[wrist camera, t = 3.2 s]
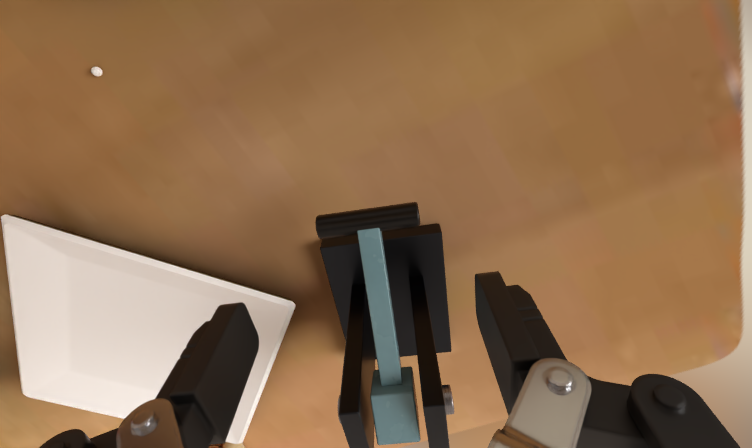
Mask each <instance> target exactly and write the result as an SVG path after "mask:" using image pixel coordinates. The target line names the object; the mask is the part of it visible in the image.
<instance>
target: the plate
mask: <svg viewBox="0 0 752 448" xmlns="http://www.w3.org/2000/svg"><path fill="white" fill-rule="evenodd" d="M1 222H2V230H3V239H4V247H5V256H6V264H7V273H8V281H9V289H10V298H11V306H12V315H13V323H14V332H15V340H16V348H17V357H18V365H19V374H20V382H21V391H22V393H23V394H24V395H25V396H27V397H30V398H34V399H39V400H43V401H48V402H52V403H57V404H61V405H65V406H70V407H74V408H79V409H83V410H87V411H92V412H96V413H101V414H105V415H110V416H114V417H118V418H123V419H125V418H126V417H127V416H128V415H129V414H130V413H131V412H132V411H133V410H134V409H136V408H137V407H138V406H140V405H142V404H143V403H145V402H148V401H150V400H153V399H155V398H156V396H157V394H158V393H159V391H160V389H161V388H162V386H163V384H164V383H165V381H166V379H167V378H168V376H169V374H170V372H171V371H172V369H173V367H174V366H175V364H176V362H177V361H178V359H180V355H181V354H182V352H183V350H184V349H185V348H186V345H187V344H188V342H189V340H190V338H191V337H192V335H193V333H194V332H195V331H196V330H197V329H198V328H200V327H201V326H202V325H203V324H204V323H205V322H206V321H210V320H211V318H212V317H213V315H214V313H215V311H216V309H217V308H218V306H220V305H223V304H231V303H239V302H242V303H244V304H245V305H246V307H247V310H248V312H249V314H250V317H251V319H252V321H253V324H254V326H255V328H256V330H257V333H258V336H259V349H258V353H257V356H256V358H255V361H254V364H253V367H252V369H251V372H250V375H249V378H248V381H247V383H246V386H245V389H244V392H243V394H242V397H241V400H240V403H239V405H238V408H237V411H236V414H235V416H234V419H233V422H232V425H231V428H230V430H229V433H228V436H227V439H226V441H225V442H229V443H233V444H240V443H243V440H244V437H245V435H246V432H247V430H248V427H249V425H250V422H251V419H252V417H253V414H254V412H255V409H256V407H257V404H258V401H259V399H260V396H261V394H262V391H263V389H264V386H265V383H266V381H267V378H268V376H269V373H270V371H271V368H272V365H273V363H274V360H275V358H276V355H277V353H278V350H279V347H280V345H281V342H282V340H283V337H284V334H285V332H286V329H287V327H288V324H289V322H290V319H291V316H292V314H293V311H294V309H295V306H296V305H295V304H294V302H293V301H292V300H291V299H288V298H285V297H282V296H278V295H275V294H272V293H269V292H265V291H262V290H259V289H255V288H252V287H249V286H246V285H242V284H239V283H236V282H232V281H229V280H226V279H223V278H219V277H216V276H213V275H210V274H206V273H203V272H200V271H196V270H193V269H190V268H187V267H183V266H180V265H177V264H173V263H170V262H167V261H164V260H160V259H157V258H154V257H150V256H147V255H144V254H141V253H137V252H134V251H131V250H127V249H124V248H121V247H118V246H114V245H111V244H108V243H104V242H101V241H98V240H95V239H91V238H88V237H85V236H81V235H78V234H75V233H72V232H68V231H65V230H62V229H58V228H55V227H52V226H49V225H45V224H42V223H39V222H35V221H32V220H29V219H26V218H22V217H19V216H15V215H7V214H5V215H3V216H1Z"/></svg>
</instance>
